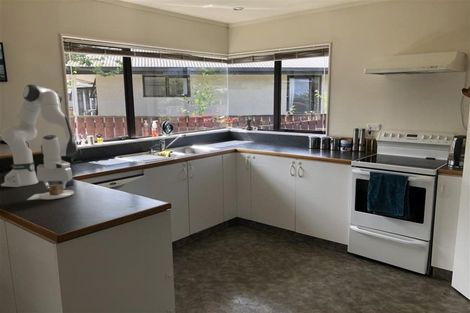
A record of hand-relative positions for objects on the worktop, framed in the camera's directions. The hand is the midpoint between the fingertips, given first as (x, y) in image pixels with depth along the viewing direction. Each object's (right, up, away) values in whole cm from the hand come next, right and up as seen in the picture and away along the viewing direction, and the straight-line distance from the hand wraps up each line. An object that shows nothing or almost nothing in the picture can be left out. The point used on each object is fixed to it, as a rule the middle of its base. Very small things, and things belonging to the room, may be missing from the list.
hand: (55, 188), depth 204 cm
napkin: (-10, -5, +1) cm, 11 cm away
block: (0, -3, 0) cm, 3 cm away
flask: (-6, -1, +25) cm, 26 cm away
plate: (0, -4, +1) cm, 4 cm away
